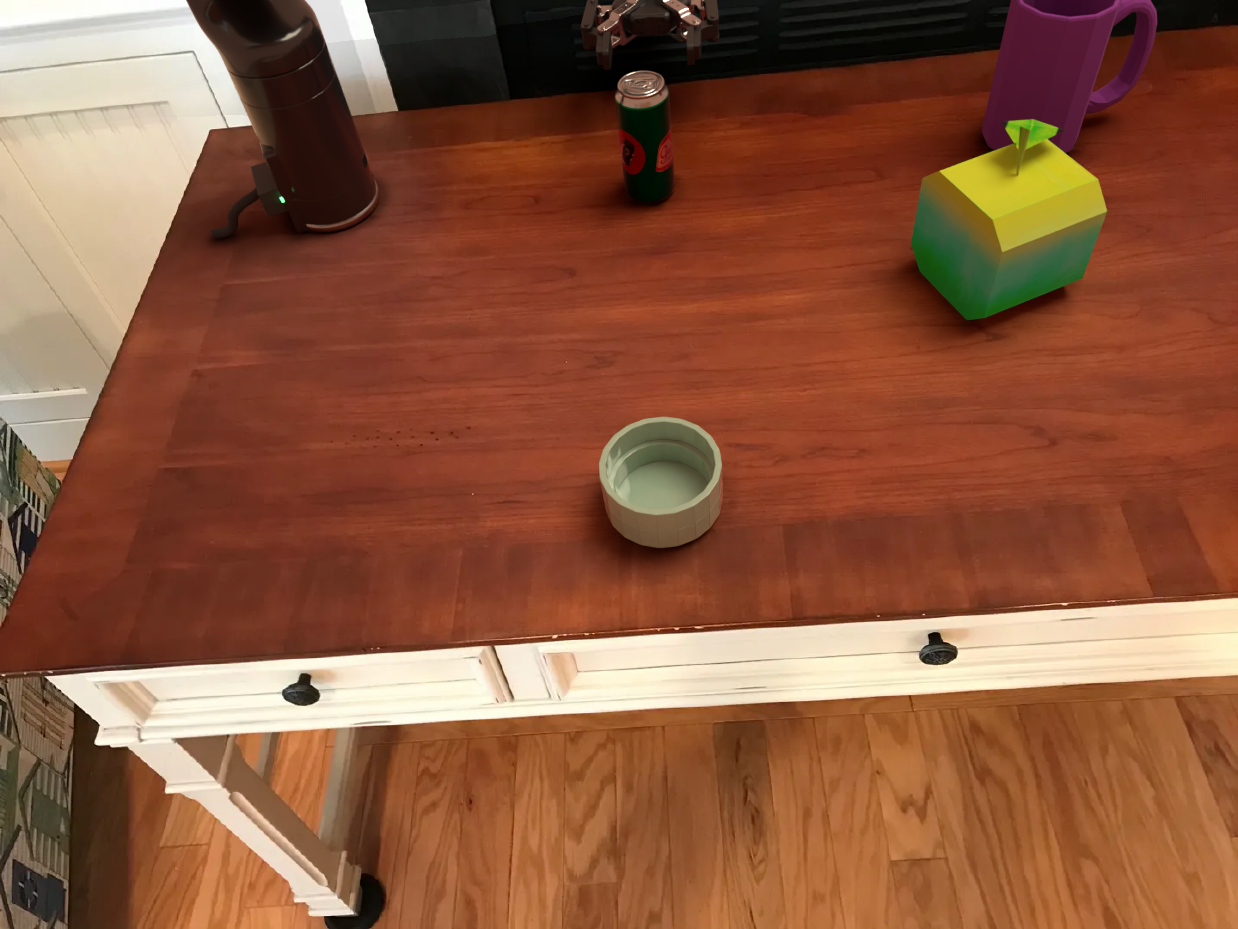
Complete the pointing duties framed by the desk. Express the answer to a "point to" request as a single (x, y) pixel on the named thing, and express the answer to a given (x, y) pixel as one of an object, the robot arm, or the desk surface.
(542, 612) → the desk surface
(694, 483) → the bowl
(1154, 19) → the mug
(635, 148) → the soda can
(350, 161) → the robot arm
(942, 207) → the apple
